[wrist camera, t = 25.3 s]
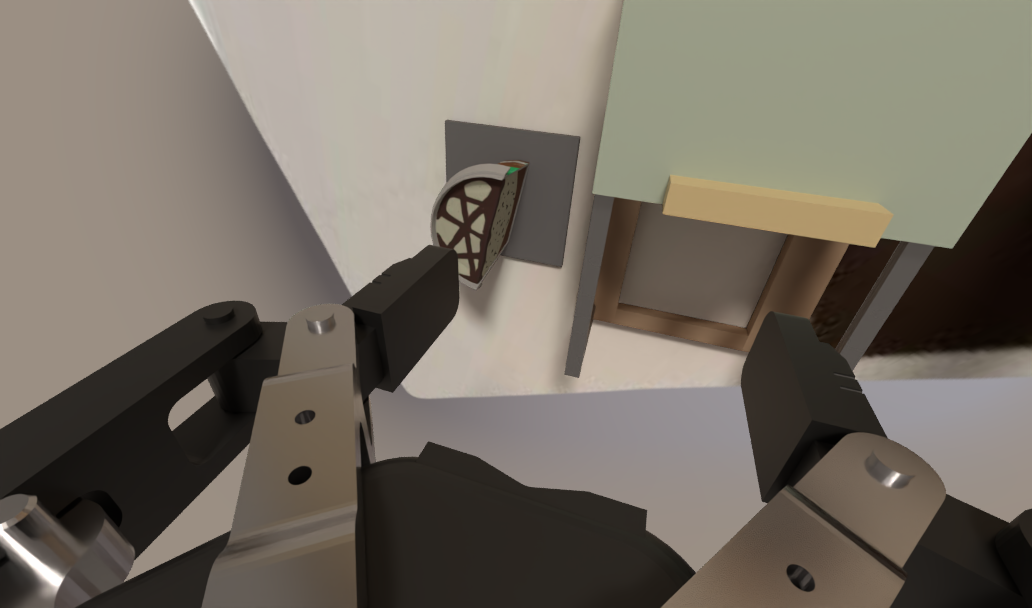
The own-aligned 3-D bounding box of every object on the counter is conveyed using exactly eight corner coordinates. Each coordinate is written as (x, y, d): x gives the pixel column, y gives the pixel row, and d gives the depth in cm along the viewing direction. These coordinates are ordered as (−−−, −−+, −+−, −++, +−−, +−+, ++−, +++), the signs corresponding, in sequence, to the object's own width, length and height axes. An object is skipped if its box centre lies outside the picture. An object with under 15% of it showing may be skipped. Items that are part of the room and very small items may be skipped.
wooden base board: (1067, -190, 25) (1088, -202, 23) (783, 351, 47) (786, 360, 45) (660, -179, 29) (660, -188, 28) (577, 308, 51) (575, 315, 50)
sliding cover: (1204, -151, 17) (1297, -184, 14) (943, 242, 26) (972, 262, 24) (649, -145, 21) (647, -169, 19) (593, 189, 30) (587, 202, 28)
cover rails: (1057, -175, 24) (1298, -308, 15) (780, 355, 45) (810, 434, 36) (668, -167, 28) (672, -266, 19) (582, 313, 50) (564, 374, 40)
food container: (477, 128, 43) (433, 148, 35) (533, 147, 42) (503, 173, 34) (457, 234, 50) (417, 272, 42) (505, 253, 49) (474, 294, 41)
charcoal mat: (580, 136, 41) (579, 137, 41) (562, 264, 49) (561, 266, 48) (447, 119, 44) (444, 120, 43) (450, 243, 52) (448, 245, 51)
